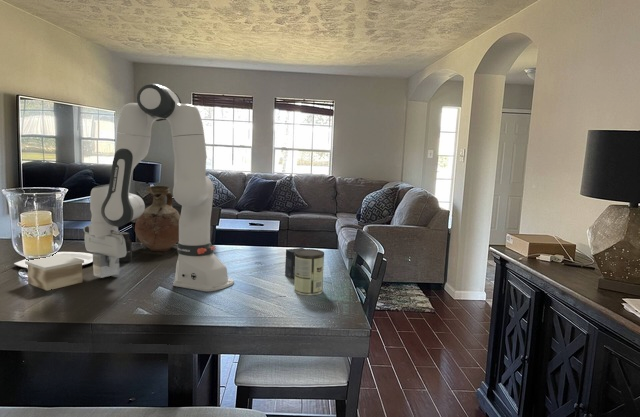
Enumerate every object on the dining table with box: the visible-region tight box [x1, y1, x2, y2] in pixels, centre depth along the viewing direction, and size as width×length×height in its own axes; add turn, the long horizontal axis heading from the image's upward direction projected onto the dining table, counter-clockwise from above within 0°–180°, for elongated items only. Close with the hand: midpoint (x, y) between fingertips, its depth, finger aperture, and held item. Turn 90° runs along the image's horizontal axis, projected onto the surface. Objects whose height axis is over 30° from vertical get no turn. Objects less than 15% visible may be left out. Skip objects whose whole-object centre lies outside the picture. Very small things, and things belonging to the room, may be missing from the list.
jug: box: [134, 185, 181, 252], centre depth 206 cm, size 22×22×30 cm
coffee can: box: [293, 248, 325, 296], centre depth 153 cm, size 10×10×14 cm
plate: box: [13, 251, 94, 269], centre depth 176 cm, size 27×27×2 cm
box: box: [284, 247, 305, 279], centre depth 172 cm, size 8×6×11 cm
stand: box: [25, 254, 84, 291], centre depth 152 cm, size 13×13×8 cm
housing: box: [92, 253, 120, 279], centre depth 160 cm, size 5×7×8 cm
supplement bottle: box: [119, 231, 133, 264], centre depth 183 cm, size 7×7×12 cm
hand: (106, 266), depth 160 cm, fingers closed on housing, 5 cm apart
